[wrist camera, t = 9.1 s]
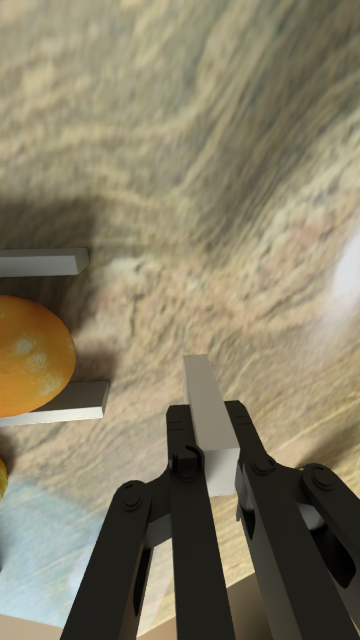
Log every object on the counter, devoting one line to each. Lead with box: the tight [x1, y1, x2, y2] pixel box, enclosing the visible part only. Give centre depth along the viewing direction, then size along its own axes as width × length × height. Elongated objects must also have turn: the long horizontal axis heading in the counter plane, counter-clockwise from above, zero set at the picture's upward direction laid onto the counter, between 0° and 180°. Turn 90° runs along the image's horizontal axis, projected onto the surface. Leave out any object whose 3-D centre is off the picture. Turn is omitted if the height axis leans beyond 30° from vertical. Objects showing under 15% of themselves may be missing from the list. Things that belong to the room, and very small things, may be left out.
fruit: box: [0, 295, 76, 418], centre depth 17 cm, size 8×8×8 cm
